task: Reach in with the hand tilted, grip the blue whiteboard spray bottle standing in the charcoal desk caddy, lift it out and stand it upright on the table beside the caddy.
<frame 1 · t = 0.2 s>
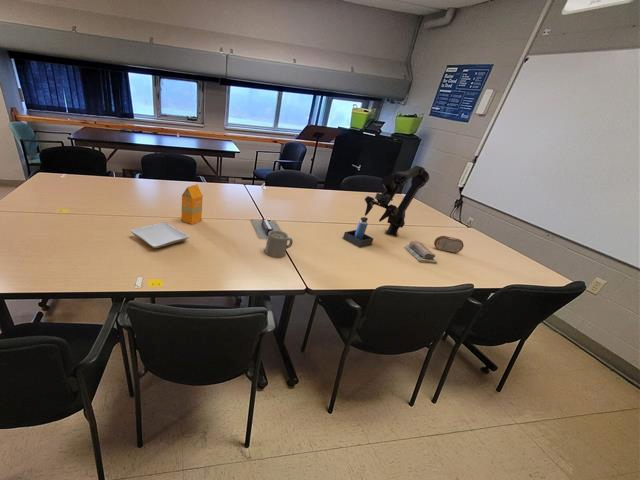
hand: (372, 218, 176), 15 cm above the table, tool tilted 35°, fingers open, 9 cm apart
tin: (445, 251, 187), on the table
caddy: (356, 241, 184), on the table
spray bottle: (361, 229, 180), in the caddy
salad plate: (160, 239, 157), on the table
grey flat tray: (267, 229, 184), on the table
coffee mug: (278, 253, 160), on the table
orange juice: (191, 220, 182), on the table
packaged product: (419, 255, 178), on the table
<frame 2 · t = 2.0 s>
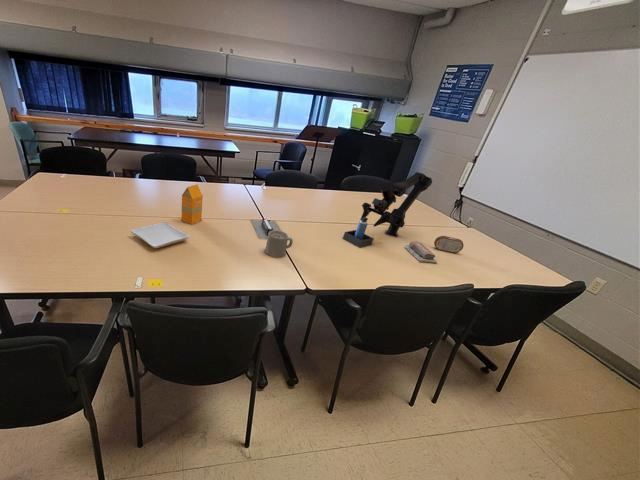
hand: (367, 223, 180), 11 cm above the table, tool tilted 45°, fingers open, 9 cm apart
nothing on the table moved.
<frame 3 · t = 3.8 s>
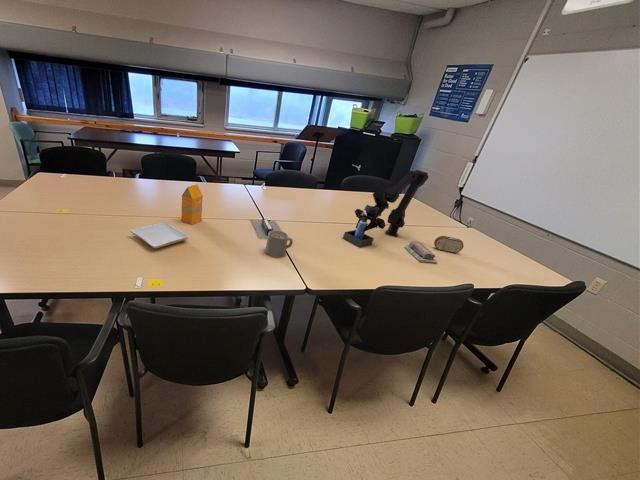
hand: (359, 229, 179), 8 cm above the table, tool tilted 45°, fingers closed on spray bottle, 5 cm apart
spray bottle: (361, 229, 180), in the caddy, touching gripper
everything else where it was.
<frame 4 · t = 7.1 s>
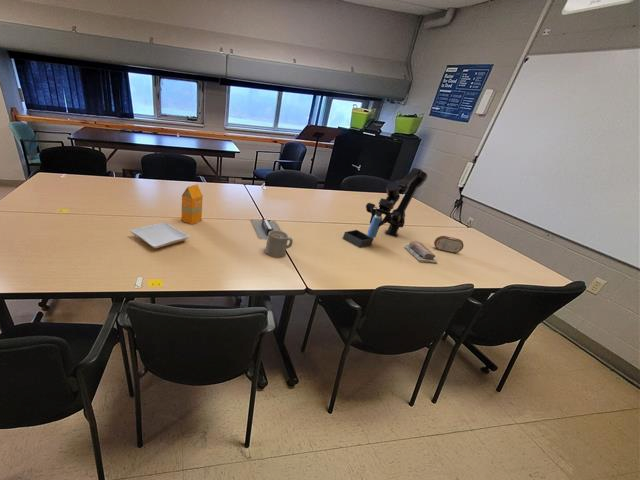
hand: (374, 224, 172), 13 cm above the table, tool tilted 45°, fingers closed on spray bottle, 5 cm apart
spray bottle: (375, 224, 173), point 13 cm above the table, touching gripper
everything else where it was.
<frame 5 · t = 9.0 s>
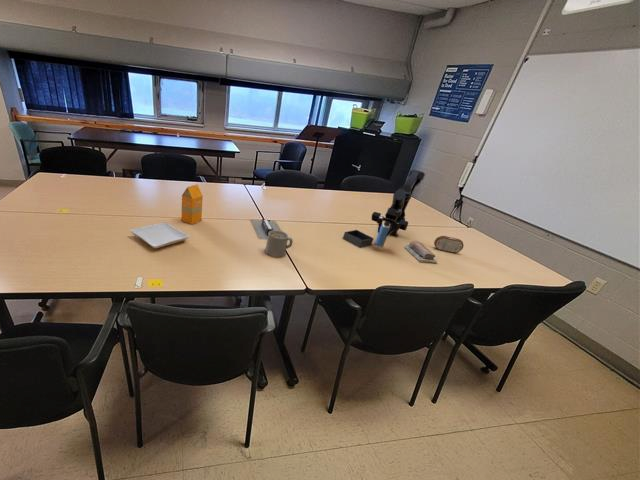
hand: (382, 234, 171), 10 cm above the table, tool tilted 45°, fingers closed on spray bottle, 5 cm apart
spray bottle: (383, 233, 172), point 10 cm above the table, touching gripper
everything else where it was.
when the fingers open (7 cm above the table, at t = 10.2 s): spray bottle stays where it is, on the table.
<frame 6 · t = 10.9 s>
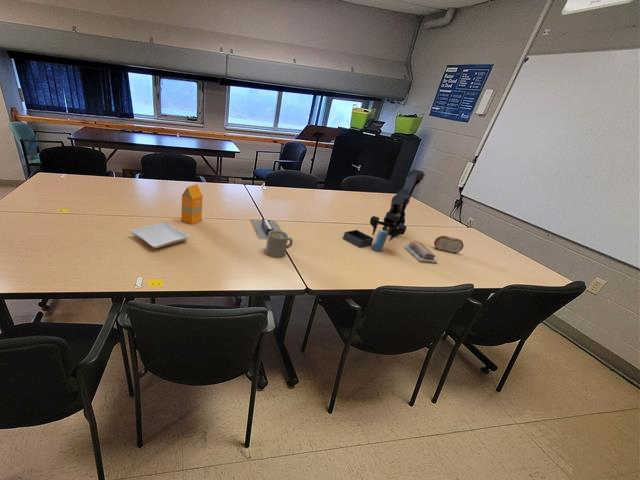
hand: (380, 238, 172), 8 cm above the table, tool tilted 45°, fingers open, 9 cm apart
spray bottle: (381, 238, 173), on the table
everything else where it was.
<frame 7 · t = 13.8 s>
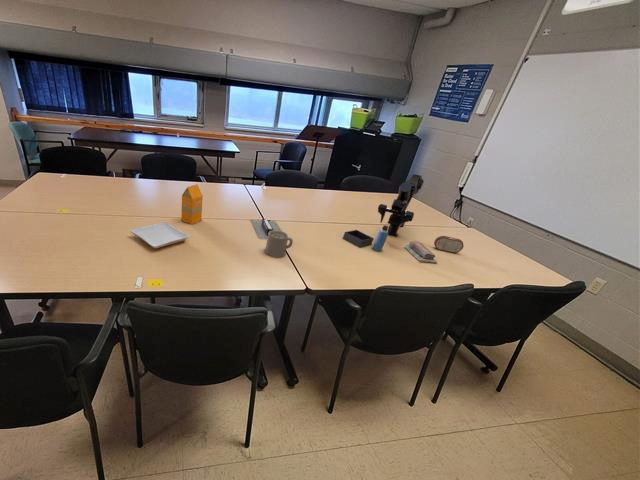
hand: (388, 225, 176), 13 cm above the table, tool tilted 45°, fingers open, 9 cm apart
nothing on the table moved.
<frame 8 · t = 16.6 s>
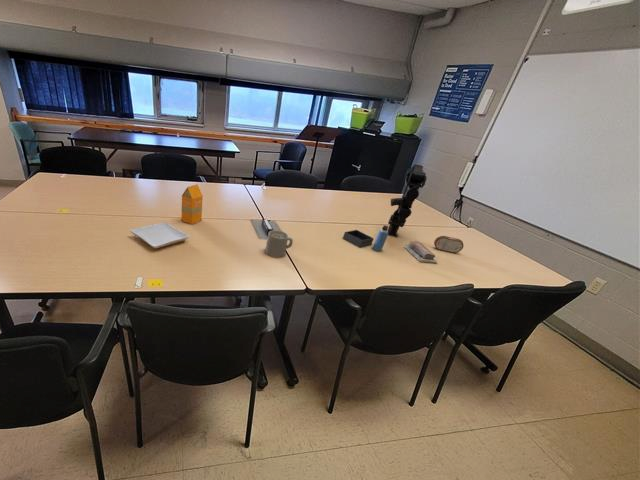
hand: (399, 222, 181), 13 cm above the table, tool pointing down, fingers open, 9 cm apart
nothing on the table moved.
at the end: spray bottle inside the target area (0.3 cm from its centre), on the table; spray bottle tilted 0°; the gripper is holding nothing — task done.
